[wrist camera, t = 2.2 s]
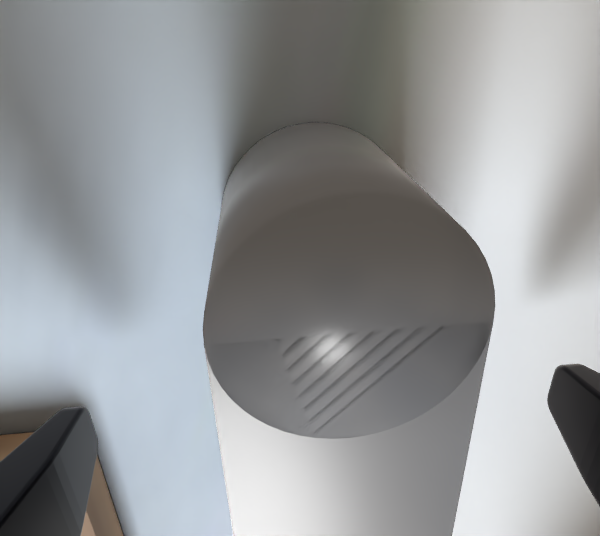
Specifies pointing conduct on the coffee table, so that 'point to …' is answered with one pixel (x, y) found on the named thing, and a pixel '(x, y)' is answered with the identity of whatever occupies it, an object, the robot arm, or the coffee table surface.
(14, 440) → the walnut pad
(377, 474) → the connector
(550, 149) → the coffee table surface
